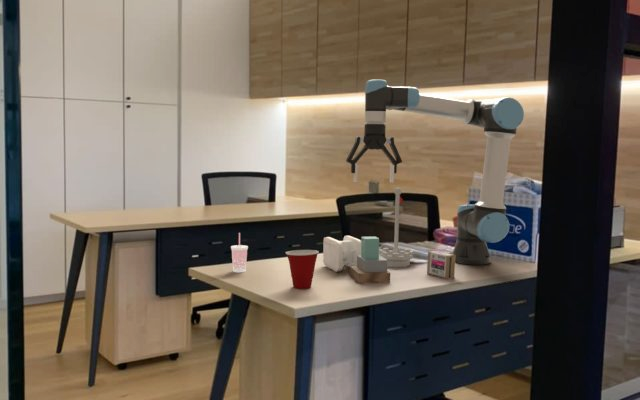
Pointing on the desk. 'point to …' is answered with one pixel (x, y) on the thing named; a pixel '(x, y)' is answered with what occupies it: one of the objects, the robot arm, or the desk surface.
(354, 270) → the walnut slab
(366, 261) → the grey slab
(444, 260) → the ink box
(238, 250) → the beverage cup
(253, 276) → the desk surface
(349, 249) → the cable organizer
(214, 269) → the desk surface
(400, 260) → the flag stand
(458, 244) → the robot arm
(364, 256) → the teal block
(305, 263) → the plastic cup
